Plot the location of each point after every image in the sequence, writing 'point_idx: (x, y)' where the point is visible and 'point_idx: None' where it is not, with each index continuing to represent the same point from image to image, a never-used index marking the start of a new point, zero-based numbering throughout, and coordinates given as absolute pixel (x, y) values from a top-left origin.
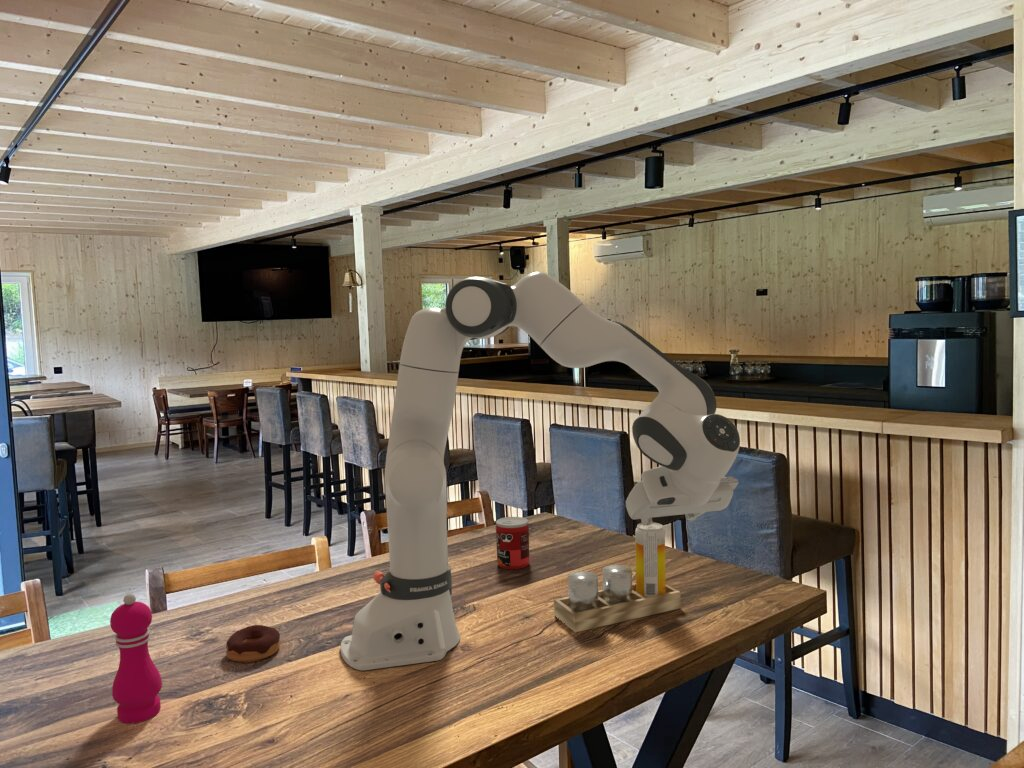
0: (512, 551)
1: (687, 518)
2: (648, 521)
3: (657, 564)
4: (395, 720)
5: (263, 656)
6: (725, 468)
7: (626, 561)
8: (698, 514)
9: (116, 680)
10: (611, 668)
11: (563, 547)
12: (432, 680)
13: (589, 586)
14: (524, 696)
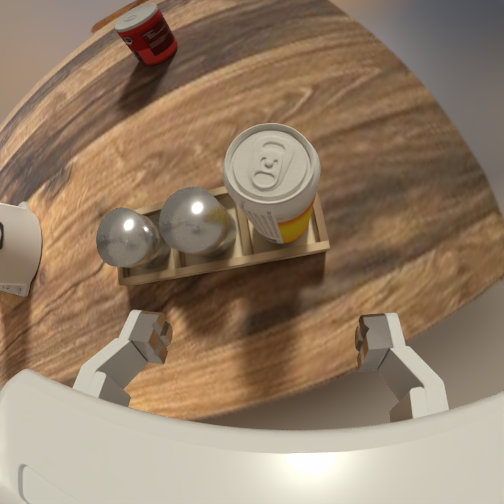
0: (139, 52)
1: (357, 337)
2: (145, 364)
3: (280, 232)
4: (15, 370)
5: None
6: None
7: (311, 57)
8: (391, 389)
9: None
10: (148, 396)
11: (242, 14)
12: (24, 329)
13: (124, 266)
14: None
